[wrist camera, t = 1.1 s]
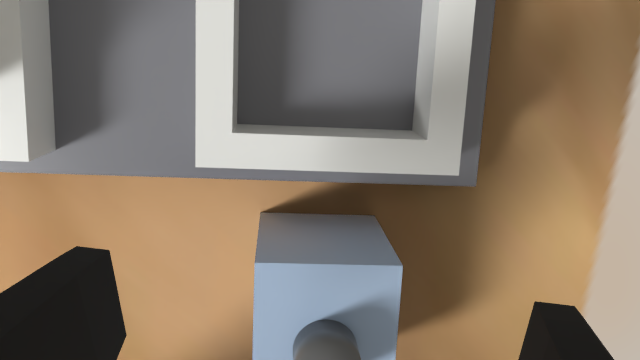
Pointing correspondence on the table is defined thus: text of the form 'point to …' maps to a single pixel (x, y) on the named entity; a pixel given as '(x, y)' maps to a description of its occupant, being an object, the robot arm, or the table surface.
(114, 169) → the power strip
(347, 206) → the table surface
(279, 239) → the blue plug
